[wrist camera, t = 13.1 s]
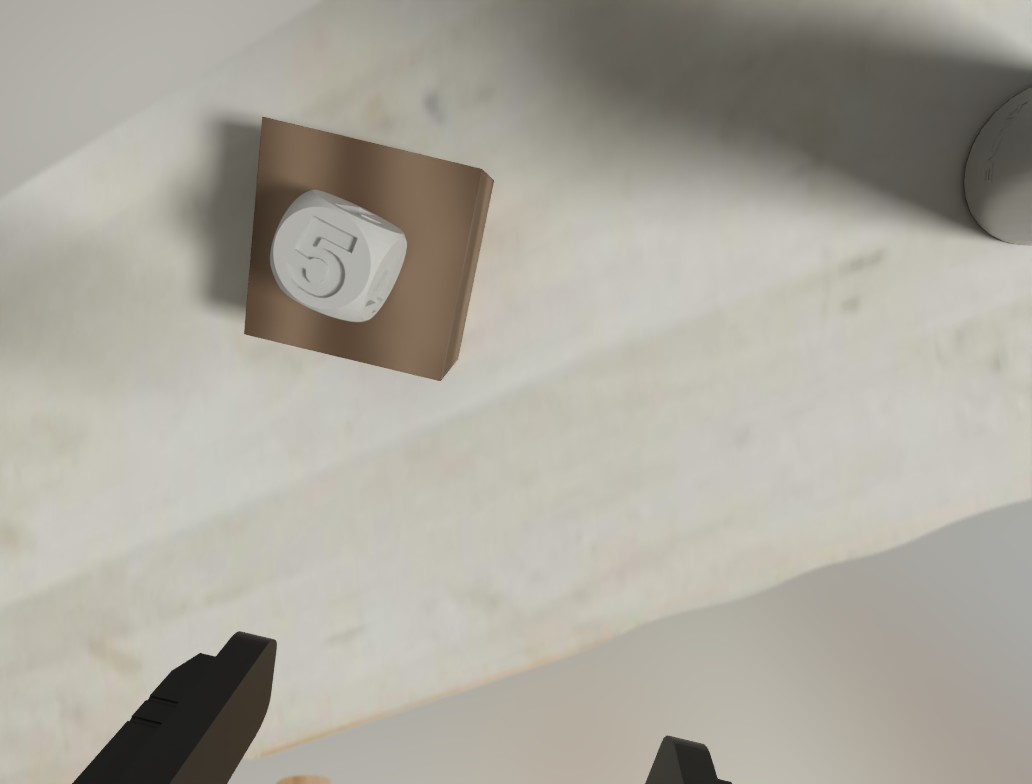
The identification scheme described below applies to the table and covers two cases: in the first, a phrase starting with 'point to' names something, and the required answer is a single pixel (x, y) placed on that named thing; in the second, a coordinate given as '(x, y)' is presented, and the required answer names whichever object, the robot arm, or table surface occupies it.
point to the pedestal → (401, 201)
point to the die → (336, 256)
